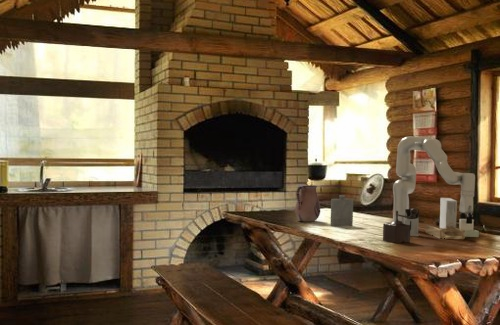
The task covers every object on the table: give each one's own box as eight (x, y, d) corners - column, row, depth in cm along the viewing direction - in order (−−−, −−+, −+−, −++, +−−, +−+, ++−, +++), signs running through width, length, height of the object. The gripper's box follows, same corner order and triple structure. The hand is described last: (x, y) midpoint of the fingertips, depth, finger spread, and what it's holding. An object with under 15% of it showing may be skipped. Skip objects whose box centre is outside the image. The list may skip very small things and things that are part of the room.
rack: (439, 238, 321) (440, 229, 321) (425, 232, 347) (426, 224, 347) (464, 239, 321) (464, 230, 321) (448, 233, 347) (448, 225, 347)
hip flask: (331, 226, 366) (332, 195, 366) (328, 225, 370) (329, 195, 370) (353, 226, 372) (354, 195, 371) (350, 225, 375) (351, 195, 375)
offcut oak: (445, 238, 326) (445, 234, 326) (442, 237, 331) (442, 233, 331) (453, 238, 327) (454, 234, 327) (450, 237, 332) (450, 233, 332)
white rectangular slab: (460, 236, 335) (461, 219, 335) (458, 235, 338) (459, 218, 338) (473, 236, 336) (473, 219, 336) (471, 235, 338) (471, 219, 338)
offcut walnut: (444, 234, 327) (444, 231, 327) (444, 233, 331) (444, 230, 331) (451, 234, 326) (452, 231, 326) (451, 233, 330) (451, 230, 330)
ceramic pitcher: (324, 221, 395) (325, 185, 395) (310, 223, 377) (311, 186, 377) (301, 219, 404) (302, 184, 404) (287, 221, 387) (288, 184, 386)
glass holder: (421, 235, 332) (422, 210, 332) (408, 237, 323) (409, 210, 323) (408, 233, 339) (409, 208, 339) (395, 235, 329) (395, 209, 329)
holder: (458, 236, 333) (458, 230, 333) (453, 234, 340) (453, 229, 340) (479, 237, 333) (479, 231, 333) (474, 235, 340) (474, 229, 340)
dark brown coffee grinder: (396, 243, 295) (397, 209, 295) (382, 240, 305) (383, 207, 305) (418, 242, 303) (419, 208, 303) (403, 239, 312) (404, 206, 312)
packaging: (456, 233, 348) (457, 201, 348) (445, 232, 349) (446, 200, 349) (449, 228, 378) (450, 198, 378) (439, 227, 379) (440, 197, 379)
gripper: (455, 192, 345) (454, 220, 346) (466, 194, 328) (465, 224, 328) (468, 193, 345) (466, 221, 346) (479, 195, 328) (478, 224, 328)
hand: (465, 222), depth 337 cm, fingers open, 9 cm apart
